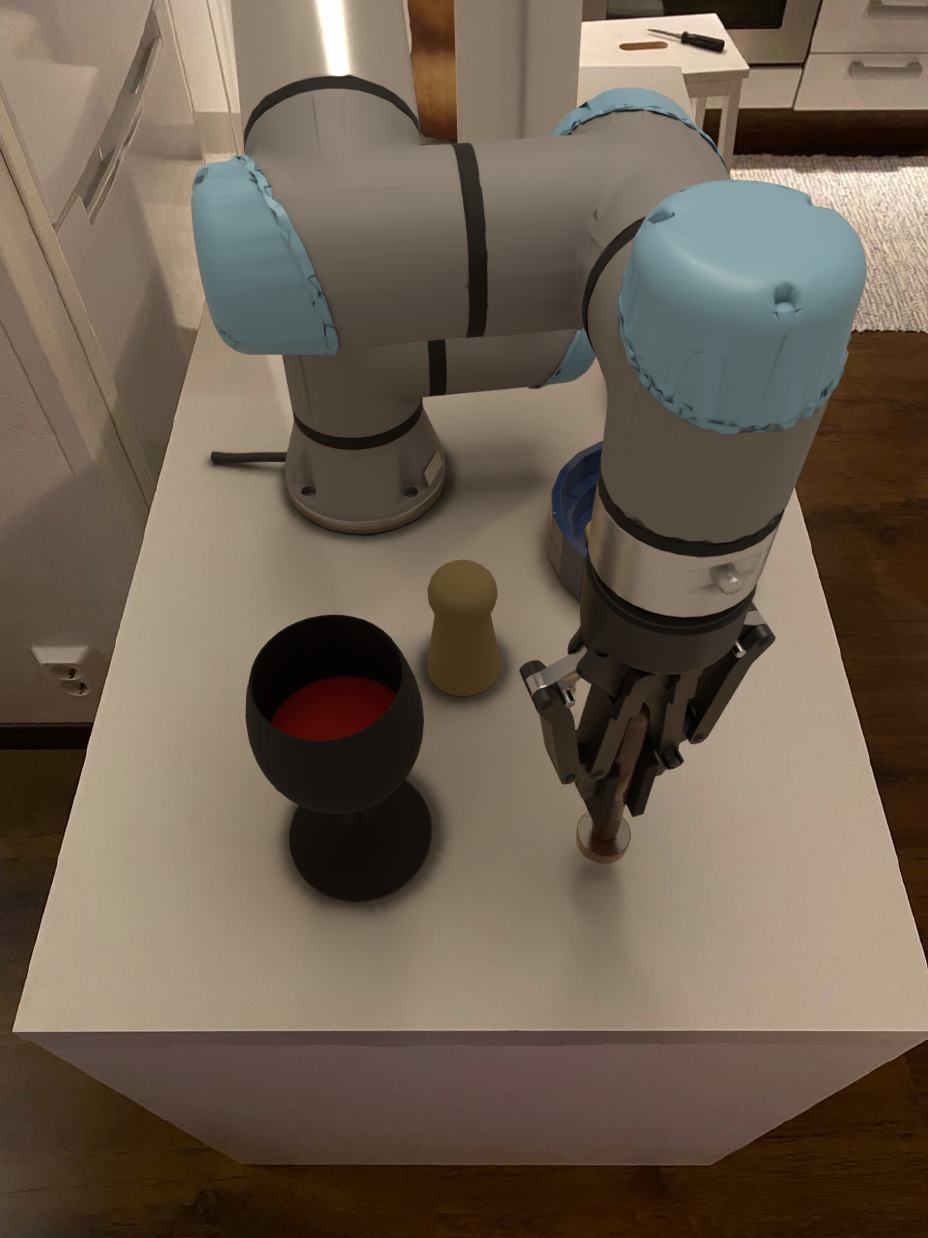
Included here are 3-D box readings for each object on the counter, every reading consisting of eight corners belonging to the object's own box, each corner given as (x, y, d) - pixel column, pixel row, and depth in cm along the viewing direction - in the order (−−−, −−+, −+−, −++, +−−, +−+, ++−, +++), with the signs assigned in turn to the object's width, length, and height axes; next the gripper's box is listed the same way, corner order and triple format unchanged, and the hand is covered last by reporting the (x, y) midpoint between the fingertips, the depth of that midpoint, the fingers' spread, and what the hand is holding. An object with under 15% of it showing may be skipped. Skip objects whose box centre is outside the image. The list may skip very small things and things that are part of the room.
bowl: (550, 626, 80) (555, 580, 75) (545, 481, 91) (549, 433, 86) (760, 629, 79) (778, 583, 75) (730, 483, 90) (744, 435, 86)
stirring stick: (576, 863, 63) (604, 734, 50) (574, 814, 66) (600, 677, 52) (630, 865, 63) (672, 735, 50) (626, 815, 65) (666, 678, 52)
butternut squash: (449, 170, 129) (444, -45, 109) (386, 136, 135) (371, -73, 115) (522, 137, 134) (530, -74, 115) (458, 106, 140) (456, -99, 121)
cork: (458, 624, 80) (456, 534, 71) (515, 661, 78) (520, 572, 69) (411, 669, 77) (403, 582, 69) (469, 709, 75) (468, 623, 66)
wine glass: (432, 767, 72) (419, 599, 56) (433, 900, 65) (420, 753, 50) (294, 771, 72) (243, 605, 56) (282, 905, 65) (221, 760, 49)
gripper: (546, 671, 38) (522, 893, 57) (868, 579, 41) (744, 820, 59) (484, 539, 42) (481, 786, 61) (779, 464, 45) (690, 722, 64)
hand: (611, 802), depth 60 cm, fingers closed on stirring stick, 2 cm apart
